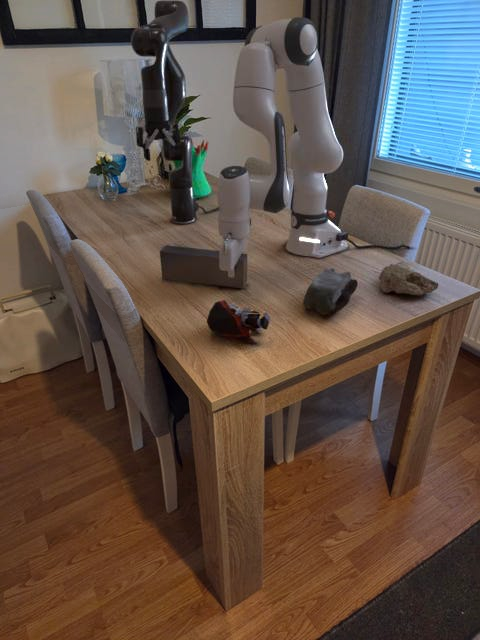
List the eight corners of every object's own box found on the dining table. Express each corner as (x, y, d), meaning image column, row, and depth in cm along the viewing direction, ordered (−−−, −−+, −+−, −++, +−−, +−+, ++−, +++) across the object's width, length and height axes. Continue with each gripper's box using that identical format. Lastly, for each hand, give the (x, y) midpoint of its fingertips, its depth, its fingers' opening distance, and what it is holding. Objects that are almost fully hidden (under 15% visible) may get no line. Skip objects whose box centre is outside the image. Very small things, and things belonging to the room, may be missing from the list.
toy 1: (167, 190, 223) (163, 137, 210) (207, 188, 227) (205, 135, 214) (172, 202, 206) (167, 145, 193) (214, 199, 210) (213, 143, 197)
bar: (162, 278, 137) (159, 251, 132) (168, 272, 141) (165, 245, 136) (243, 288, 132) (243, 260, 127) (246, 281, 136) (247, 253, 131)
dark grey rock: (338, 325, 116) (342, 298, 112) (298, 314, 120) (300, 288, 116) (357, 296, 130) (361, 271, 126) (321, 287, 134) (323, 263, 130)
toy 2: (264, 297, 102) (206, 289, 108) (254, 335, 100) (195, 325, 105) (276, 315, 113) (223, 308, 119) (267, 350, 110) (213, 341, 116)
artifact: (399, 307, 125) (440, 299, 130) (406, 284, 121) (449, 278, 126) (362, 275, 139) (401, 270, 144) (368, 254, 135) (408, 249, 140)
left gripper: (139, 107, 132) (144, 163, 141) (181, 104, 139) (184, 158, 148) (129, 105, 137) (135, 159, 146) (170, 102, 144) (174, 154, 153)
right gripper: (235, 242, 116) (236, 288, 123) (252, 216, 133) (252, 259, 140) (212, 239, 117) (214, 286, 125) (232, 215, 134) (232, 257, 142)
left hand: (160, 158), depth 147 cm, fingers open, 8 cm apart
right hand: (234, 271), depth 133 cm, fingers closed on bar, 5 cm apart
